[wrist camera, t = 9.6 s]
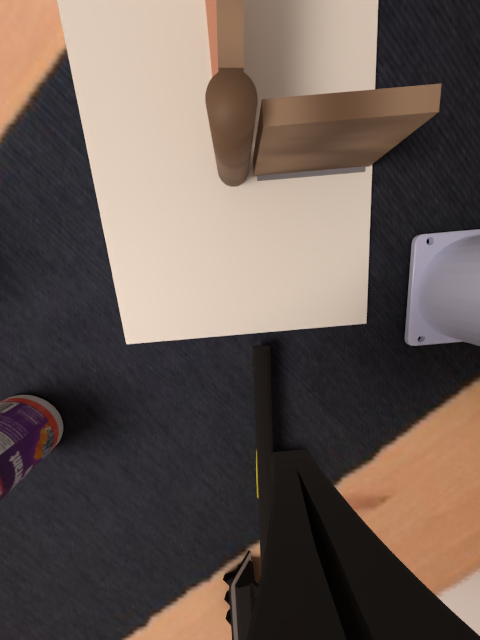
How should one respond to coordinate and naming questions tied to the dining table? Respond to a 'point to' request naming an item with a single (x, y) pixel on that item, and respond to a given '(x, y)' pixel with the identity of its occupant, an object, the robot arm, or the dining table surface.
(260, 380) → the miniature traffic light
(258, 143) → the frame
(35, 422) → the pill bottle
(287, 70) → the card
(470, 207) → the dining table surface
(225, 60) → the gate panel
